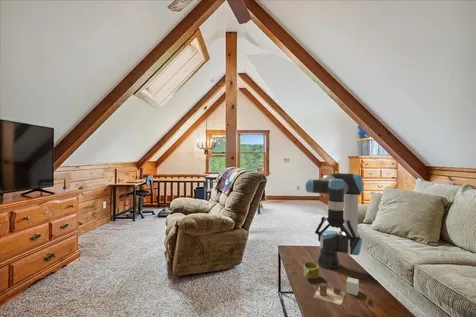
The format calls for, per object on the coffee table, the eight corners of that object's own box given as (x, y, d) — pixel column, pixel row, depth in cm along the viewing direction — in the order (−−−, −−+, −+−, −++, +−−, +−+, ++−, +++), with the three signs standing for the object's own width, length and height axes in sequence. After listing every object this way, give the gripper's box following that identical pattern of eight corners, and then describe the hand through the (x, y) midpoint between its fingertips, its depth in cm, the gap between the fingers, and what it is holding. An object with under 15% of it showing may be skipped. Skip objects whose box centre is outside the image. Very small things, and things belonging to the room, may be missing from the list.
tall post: (321, 292, 142) (321, 282, 142) (326, 294, 141) (326, 284, 141) (319, 295, 140) (319, 285, 140) (325, 296, 138) (325, 286, 138)
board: (319, 287, 150) (320, 280, 150) (345, 294, 143) (345, 287, 143) (313, 298, 138) (313, 291, 138) (341, 307, 131) (341, 299, 131)
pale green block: (347, 290, 148) (348, 277, 147) (358, 293, 145) (358, 279, 145) (346, 294, 143) (346, 281, 143) (357, 297, 140) (357, 283, 140)
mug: (307, 268, 171) (310, 256, 167) (320, 278, 164) (324, 266, 160) (296, 277, 163) (298, 265, 159) (309, 288, 156) (312, 275, 152)
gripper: (309, 207, 136) (308, 247, 136) (361, 213, 123) (360, 258, 123) (313, 205, 142) (312, 243, 143) (363, 210, 129) (362, 253, 130)
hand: (334, 250), depth 133 cm, fingers open, 13 cm apart
